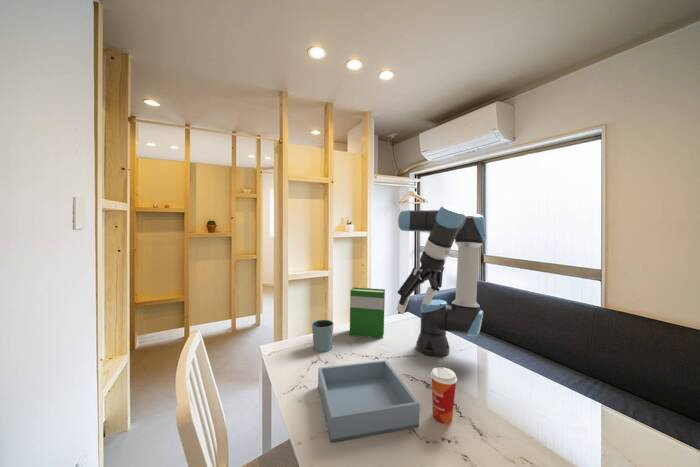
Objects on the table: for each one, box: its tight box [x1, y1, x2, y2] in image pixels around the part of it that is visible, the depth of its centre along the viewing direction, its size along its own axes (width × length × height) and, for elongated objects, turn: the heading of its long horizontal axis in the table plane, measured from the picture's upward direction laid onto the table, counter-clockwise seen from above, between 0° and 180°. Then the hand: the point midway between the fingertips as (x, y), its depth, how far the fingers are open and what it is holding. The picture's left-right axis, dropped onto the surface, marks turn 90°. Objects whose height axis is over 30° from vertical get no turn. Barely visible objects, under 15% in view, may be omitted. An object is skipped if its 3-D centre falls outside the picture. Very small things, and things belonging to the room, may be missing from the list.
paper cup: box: [430, 366, 458, 425], centre depth 83 cm, size 8×8×14 cm
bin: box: [317, 359, 421, 444], centre depth 88 cm, size 26×26×7 cm
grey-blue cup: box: [311, 319, 334, 353], centre depth 128 cm, size 10×10×12 cm
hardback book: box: [349, 287, 386, 339], centre depth 146 cm, size 18×7×24 cm, turn 79°
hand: (413, 307), depth 94 cm, fingers open, 13 cm apart
